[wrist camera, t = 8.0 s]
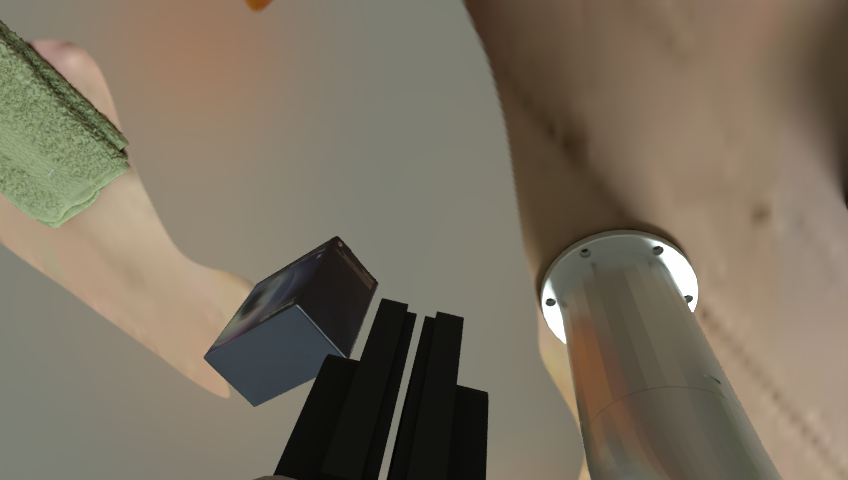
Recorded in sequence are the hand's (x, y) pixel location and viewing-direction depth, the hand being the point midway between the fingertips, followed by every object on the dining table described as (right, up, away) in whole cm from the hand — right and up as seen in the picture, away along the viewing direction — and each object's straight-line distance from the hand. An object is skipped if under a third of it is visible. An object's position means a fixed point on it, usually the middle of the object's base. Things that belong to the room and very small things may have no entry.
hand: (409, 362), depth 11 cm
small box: (-10, -1, +38) cm, 39 cm away
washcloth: (-33, +13, +33) cm, 49 cm away
